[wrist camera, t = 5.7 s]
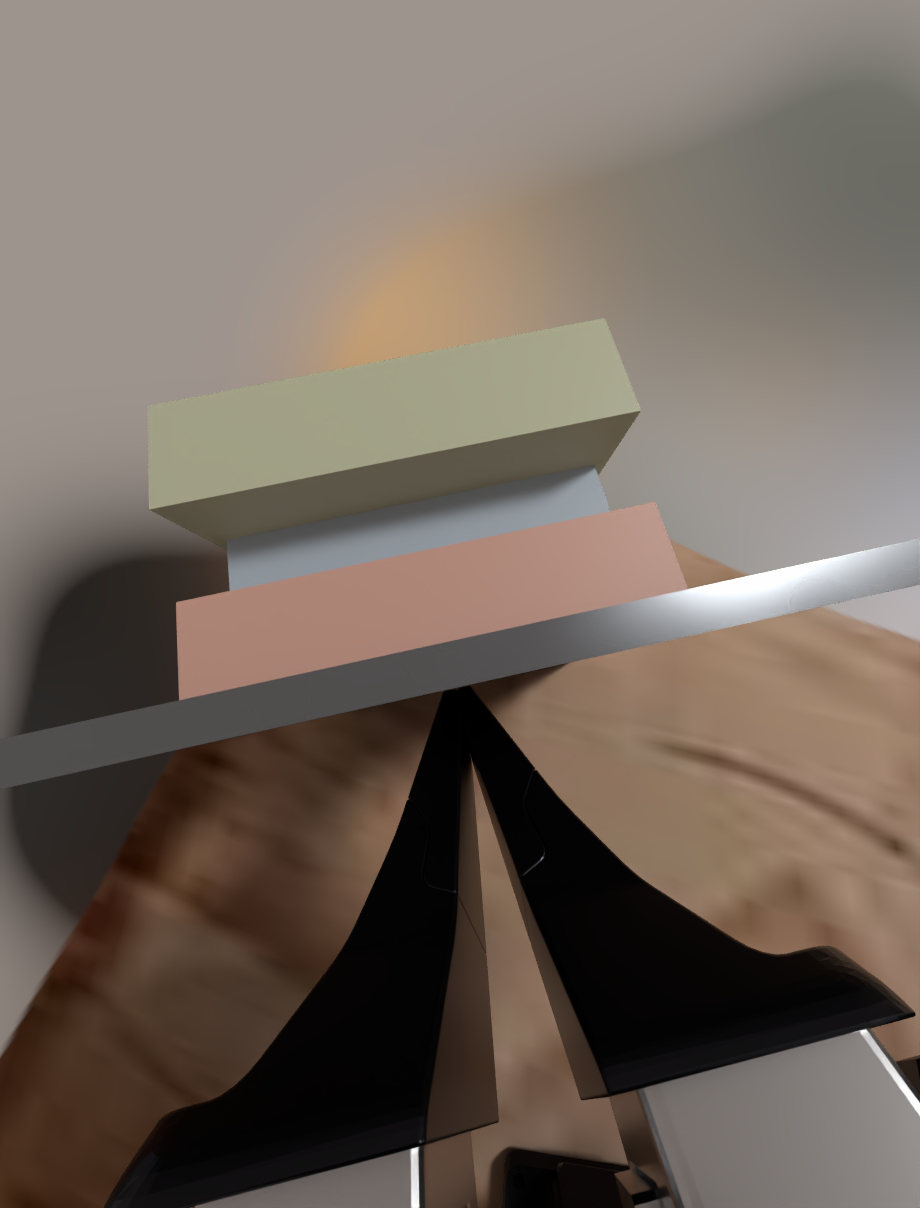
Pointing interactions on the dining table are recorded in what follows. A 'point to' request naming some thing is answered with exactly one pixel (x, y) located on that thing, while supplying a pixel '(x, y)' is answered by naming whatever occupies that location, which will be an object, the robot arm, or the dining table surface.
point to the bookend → (453, 664)
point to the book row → (404, 504)
